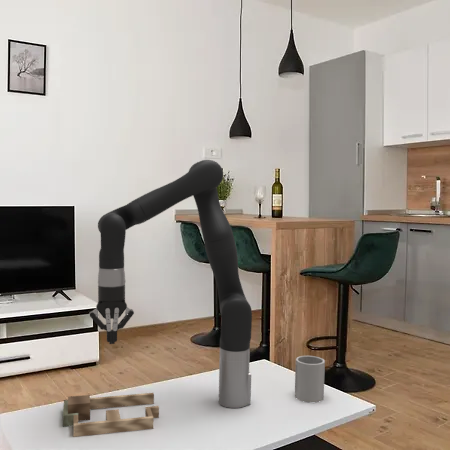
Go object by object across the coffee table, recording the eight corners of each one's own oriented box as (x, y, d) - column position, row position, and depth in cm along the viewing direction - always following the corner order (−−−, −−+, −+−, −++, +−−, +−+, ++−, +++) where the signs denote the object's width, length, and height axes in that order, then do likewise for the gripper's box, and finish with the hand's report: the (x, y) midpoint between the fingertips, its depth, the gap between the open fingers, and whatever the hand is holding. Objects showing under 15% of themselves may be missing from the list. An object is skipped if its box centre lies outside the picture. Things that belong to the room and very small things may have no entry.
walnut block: (89, 411, 153) (89, 394, 153) (90, 420, 147) (90, 402, 147) (68, 413, 152) (68, 396, 151) (67, 422, 146) (67, 404, 145)
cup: (329, 398, 167) (330, 361, 166) (308, 404, 161) (309, 366, 161) (309, 389, 174) (310, 354, 173) (288, 395, 169) (290, 358, 168)
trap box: (153, 402, 161) (153, 392, 161) (162, 427, 143) (162, 417, 143) (63, 410, 153) (63, 400, 153) (62, 437, 136) (62, 426, 136)
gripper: (133, 280, 155) (133, 338, 156) (87, 282, 151) (87, 341, 152) (136, 284, 148) (136, 345, 149) (88, 286, 144) (88, 348, 145)
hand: (111, 343), depth 150 cm, fingers closed
